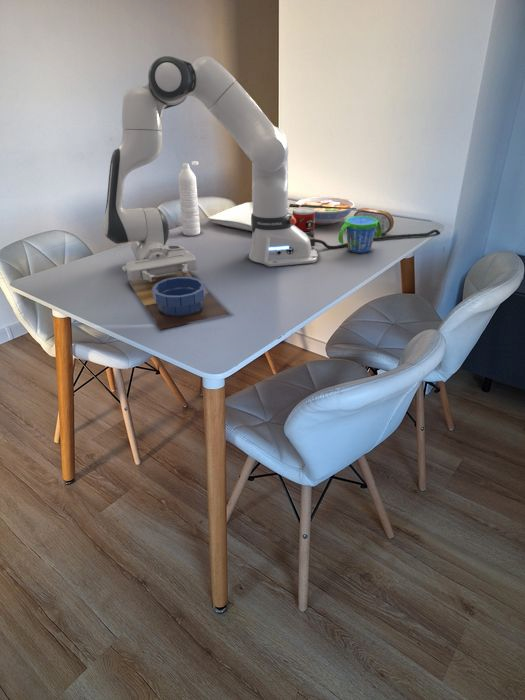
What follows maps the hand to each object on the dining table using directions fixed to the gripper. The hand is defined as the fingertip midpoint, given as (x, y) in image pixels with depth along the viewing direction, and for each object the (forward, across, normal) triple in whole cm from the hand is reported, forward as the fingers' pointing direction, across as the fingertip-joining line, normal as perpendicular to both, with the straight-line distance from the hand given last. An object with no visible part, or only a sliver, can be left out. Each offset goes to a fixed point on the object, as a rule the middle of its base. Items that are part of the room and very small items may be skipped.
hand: (169, 275), depth 141 cm
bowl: (+12, -1, +5) cm, 13 cm away
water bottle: (-50, +24, +5) cm, 56 cm away
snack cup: (-5, +67, +5) cm, 67 cm away
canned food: (-22, +55, +5) cm, 60 cm away
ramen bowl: (-38, +74, +5) cm, 83 cm away
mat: (+13, 0, +5) cm, 14 cm away
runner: (-3, 0, +5) cm, 6 cm away
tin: (-19, +82, +5) cm, 85 cm away
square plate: (-52, +50, +5) cm, 72 cm away
